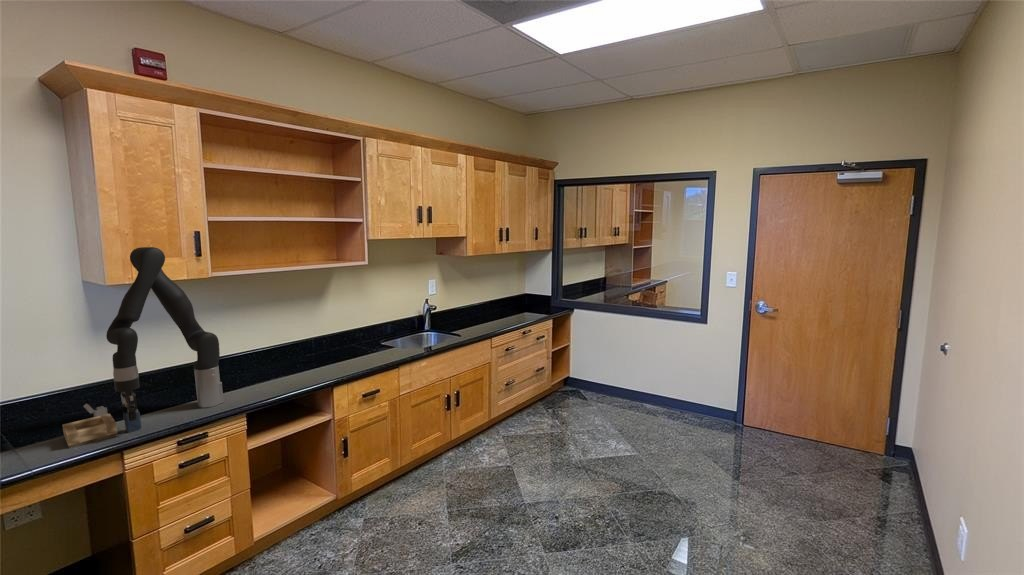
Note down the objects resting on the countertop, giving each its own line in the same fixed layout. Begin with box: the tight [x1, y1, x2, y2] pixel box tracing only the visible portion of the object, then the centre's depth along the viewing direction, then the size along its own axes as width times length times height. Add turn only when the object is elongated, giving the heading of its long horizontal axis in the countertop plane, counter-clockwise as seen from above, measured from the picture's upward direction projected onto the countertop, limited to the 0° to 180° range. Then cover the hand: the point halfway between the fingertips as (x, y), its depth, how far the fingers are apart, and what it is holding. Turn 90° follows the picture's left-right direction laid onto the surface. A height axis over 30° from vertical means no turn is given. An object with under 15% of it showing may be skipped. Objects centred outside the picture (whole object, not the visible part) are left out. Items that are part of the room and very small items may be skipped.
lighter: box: [82, 403, 109, 417], centre depth 198 cm, size 7×2×8 cm, turn 152°
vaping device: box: [121, 403, 142, 434], centre depth 187 cm, size 3×5×12 cm, turn 146°
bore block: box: [61, 413, 119, 449], centre depth 183 cm, size 14×14×5 cm
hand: (130, 417), depth 187 cm, fingers open, 8 cm apart
